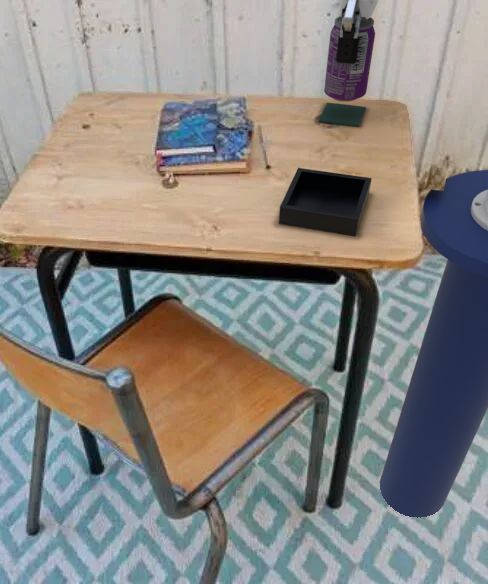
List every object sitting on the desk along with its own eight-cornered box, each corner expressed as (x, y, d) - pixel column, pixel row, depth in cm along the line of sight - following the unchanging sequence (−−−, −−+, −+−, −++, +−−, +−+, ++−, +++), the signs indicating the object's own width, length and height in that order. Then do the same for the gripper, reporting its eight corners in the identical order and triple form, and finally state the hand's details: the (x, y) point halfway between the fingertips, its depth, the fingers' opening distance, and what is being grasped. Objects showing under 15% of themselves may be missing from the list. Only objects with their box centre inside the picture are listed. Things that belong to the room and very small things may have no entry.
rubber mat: (365, 108, 115) (366, 106, 115) (358, 127, 111) (359, 124, 111) (326, 104, 117) (326, 102, 117) (318, 122, 113) (318, 120, 113)
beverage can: (371, 90, 112) (383, 16, 103) (357, 107, 108) (368, 32, 99) (332, 83, 115) (341, 10, 106) (317, 99, 111) (324, 25, 102)
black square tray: (368, 194, 97) (371, 177, 95) (355, 236, 90) (358, 219, 88) (296, 184, 100) (298, 167, 98) (278, 223, 93) (279, 207, 91)
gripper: (384, -56, 87) (364, 77, 100) (401, -89, 98) (381, 35, 111) (329, -59, 89) (316, 72, 102) (352, -91, 100) (337, 31, 113)
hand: (350, 52), depth 106 cm, fingers closed on beverage can, 7 cm apart
